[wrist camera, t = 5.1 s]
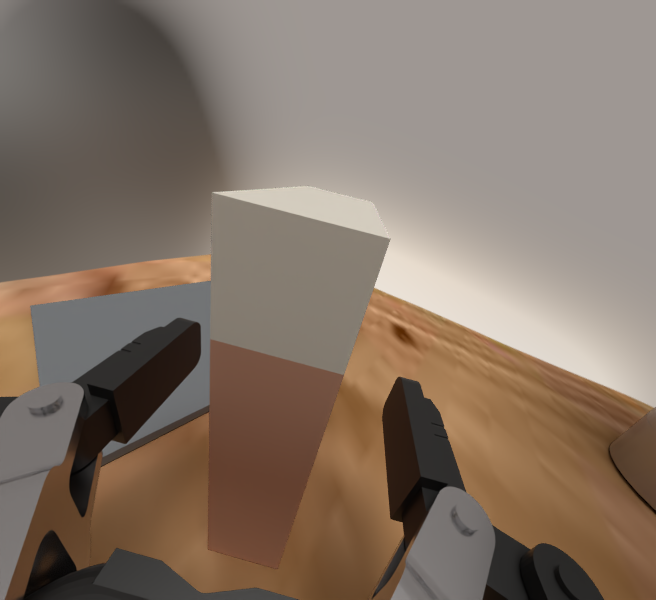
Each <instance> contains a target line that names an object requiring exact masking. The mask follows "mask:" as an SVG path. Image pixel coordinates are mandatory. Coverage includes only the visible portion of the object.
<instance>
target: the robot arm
mask: <svg viewBox="0 0 656 600" xmlns="http://www.w3.org/2000/svg"><path fill="white" fill-rule="evenodd" d="M200 356H201V325H200V323H198V322H195V321H191V320H188V319H184V318H176V319H175V320H173V321H172V322H170V323H169V324H168V325H166V326H165V327H161V326H160V327H157V328H155V329H152V330H149V331H147V332H144V333H143V334H141V335H140V336H138V337H137V338H136V339H134V340H133V341H132V342H131V343H128V344H127V345H125V346H124V347H123V348H121V350H120V351H119V350H118V351H117V352H115V353H114V354H112V355H111V356H109V357H108V358H107V359H105V360H104V361H102V362H101V363H99V364H98V365H96V366H95V367H94V368H92V369H91V370H89V371H88V372H86V373H85V374H83V375H82V376H80V377H79V378H78V379H76V380H75V381H73V382H59V383H52V384H47V385H44V386H41V387H38V388H35V389H33V390H31V391H28V392H26V393H25V394H23V395H21V396H20V397H0V600H298V599H295V598H291V597H288V596H284V595H281V594H277V593H274V592H270V591H266V590H263V589H259V588H250V589H241V590H232V591H224V592H215V593H201V592H199V591H197V590H196V589H195V588H194V587H192V586H191V585H190V584H189V583H188V582H186V581H185V580H184V579H183V578H182V577H180V576H179V575H178V574H177V573H176V572H174V571H173V570H172V569H171V568H170V567H169V566H167V565H166V564H165V563H164V562H163V561H161V560H157V559H154V558H150V557H147V556H143V555H139V554H136V553H132V552H129V551H125V550H122V549H118V548H116V549H115V551H114V552H113V554H112V555H111V557H110V558H109V560H108V561H107V563H102V564H98V565H94V566H90V567H89V564H90V556H91V533H90V526H91V517H92V511H93V506H94V501H95V495H96V490H97V484H98V479H99V473H100V468H101V462H102V457H103V451H102V450H103V449H104V448H105V447H106V446H107V444H108V443H109V442H110V441H111V440H112V441H116V442H119V443H123V444H127V443H128V441H129V440H130V439H131V438H132V437H133V436H134V435H135V434H136V433H137V431H138V430H139V429H140V428H141V427H142V426H143V425H144V424H145V423H146V421H147V420H148V419H149V418H150V417H151V416H152V415H153V414H154V413H155V412H156V410H157V409H158V408H159V407H160V406H161V405H162V404H163V403H164V402H165V400H166V399H167V398H168V397H169V396H170V395H171V394H172V393H173V392H174V390H175V389H176V388H177V387H178V386H179V385H180V384H181V383H182V382H183V381H184V379H185V378H186V377H187V376H188V375H189V374H190V373H191V372H192V371H193V369H194V368H195V367H196V366H197V364H198V362H199V360H200ZM382 421H383V433H384V445H385V458H386V470H387V482H388V495H389V507H390V519H392V520H396V521H399V522H403V529H404V536H403V537H402V539H401V540H400V542H399V544H398V546H397V548H396V549H395V551H394V553H393V555H392V557H391V559H390V560H389V562H388V564H387V566H386V568H385V569H384V571H383V573H382V575H381V577H380V579H379V580H378V582H377V584H376V586H375V588H374V589H373V591H372V593H371V595H370V597H369V598H368V600H604V599H603V597H602V595H601V594H600V592H599V590H598V589H597V587H596V586H595V584H594V583H593V581H592V580H591V579H590V578H589V576H588V575H587V574H586V573H585V571H584V570H583V569H582V568H581V567H580V566H579V565H578V564H577V563H576V562H575V561H574V560H573V559H572V558H571V557H569V556H568V555H567V554H566V553H564V552H563V551H562V550H560V549H558V548H557V547H555V546H552V545H550V544H546V543H541V544H538V545H537V546H535V547H534V548H532V549H531V550H530V549H529V548H527V547H526V546H524V545H522V544H521V543H519V542H518V541H516V540H514V539H513V538H511V537H510V536H508V535H507V534H505V533H503V532H502V531H500V530H499V529H497V528H496V527H494V526H493V525H492V524H491V522H490V520H489V518H488V516H487V514H486V513H485V511H484V510H483V508H482V507H481V506H480V505H479V503H478V502H477V501H476V500H475V499H474V498H473V497H472V496H470V495H469V494H468V493H467V492H466V490H465V487H464V484H463V481H462V478H461V475H460V472H459V469H458V466H457V463H456V460H455V457H454V454H453V451H452V448H451V445H450V442H449V441H448V436H447V433H446V430H445V429H444V424H443V421H442V418H441V415H440V412H439V411H438V409H437V408H436V407H435V405H434V404H433V402H432V401H431V399H427V398H424V396H423V392H422V389H421V385H420V383H419V382H417V381H413V380H410V379H406V378H402V377H398V378H397V379H396V381H395V383H394V385H393V388H392V390H391V392H390V394H389V396H388V398H387V400H386V402H385V405H384V408H383V416H382ZM610 453H611V457H612V459H613V461H614V462H615V464H616V466H617V468H618V469H619V470H620V472H621V473H622V475H623V476H624V477H625V479H626V480H627V481H628V482H629V483H630V484H631V486H632V487H633V488H634V489H635V490H636V491H637V492H638V494H639V495H641V496H642V497H643V498H644V499H645V500H646V501H647V502H648V503H649V504H650V505H651V506H652V507H653V508H654V509H655V510H656V407H655V408H654V409H653V410H651V411H650V412H649V413H647V414H646V415H645V416H644V417H642V418H641V419H640V420H639V421H638V422H636V423H635V424H634V425H633V426H632V427H630V428H629V429H628V430H627V431H626V432H624V433H623V434H622V435H621V436H619V437H618V438H617V439H616V440H615V441H613V442H612V443H611V446H610Z"/></svg>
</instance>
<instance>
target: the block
mask: <svg viewBox="0 0 656 600" xmlns="http://www.w3.org/2000/svg"><path fill="white" fill-rule="evenodd" d="M211 225H212V226H211V231H212V232H211V314H210V405H209V496H208V550H211V551H215V552H218V553H222V554H225V555H229V556H232V557H236V558H239V559H243V560H247V561H250V562H254V563H257V564H261V565H264V566H268V567H271V568H275V569H278V566H279V563H280V560H281V557H282V554H283V551H284V548H285V545H286V543H287V540H288V537H289V534H290V531H291V528H292V525H293V522H294V519H295V516H296V513H297V510H298V507H299V505H300V502H301V499H302V496H303V493H304V490H305V487H306V484H307V481H308V478H309V475H310V472H311V469H312V467H313V464H314V461H315V458H316V455H317V452H318V449H319V446H320V443H321V440H322V437H323V434H324V432H325V429H326V426H327V423H328V420H329V417H330V414H331V411H332V408H333V405H334V402H335V399H336V396H337V394H338V391H339V388H340V385H341V382H342V379H343V376H344V373H345V370H346V367H347V364H348V361H349V359H350V356H351V353H352V350H353V347H354V344H355V341H356V338H357V335H358V332H359V329H360V326H361V323H362V321H363V318H364V315H365V312H366V309H367V306H368V303H369V300H370V297H371V294H372V291H373V288H374V286H375V282H376V280H377V277H378V274H379V271H380V268H381V265H382V262H383V259H384V256H385V253H386V250H387V248H388V245H389V242H390V237H389V235H388V233H387V230H386V228H385V226H384V224H383V222H382V220H381V218H380V216H379V214H378V212H377V210H376V207H375V206H374V203H373V202H369V201H366V200H361V199H358V198H354V197H350V196H346V195H342V194H339V193H335V192H330V191H327V190H323V189H319V188H315V187H311V186H300V187H286V188H271V189H257V190H241V191H227V192H213V193H212V224H211Z"/></svg>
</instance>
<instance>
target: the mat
mask: <svg viewBox="0 0 656 600" xmlns="http://www.w3.org/2000/svg"><path fill="white" fill-rule="evenodd" d="M30 307H31V316H32V324H33V332H34V341H35V349H36V358H37V366H38V375H39V383H40V387H41V386H44V385H47V384H52V383H59V382H73V381H75V380H76V379H78V378H79V377H80V376H82V375H83V374H85V373H86V372H88V371H89V370H91V369H92V368H94V367H95V366H96V365H98V364H99V363H101V362H102V361H104V360H105V359H107V358H108V357H109V356H111V355H112V354H114V353H115V352H117V351H118V350H119V351H120V350H121V348H123V347H124V346H125V345H127V344H128V343H131V342H132V341H133V340H134V339H136V338H137V337H138V336H140V335H141V334H143V333H144V332H147V331H149V330H152V329H155V328H157V327H160V326H161V327H165V326H166V325H168V324H169V323H170V322H172V321H173V320H175V319H176V318H184V319H188V320H191V321H195V322H198V323H200V325H201V356H200V360H199V362H198V364H197V366H196V367H195V368H194V369H193V371H192V372H191V373H190V374H189V375H188V376H187V377H186V378H185V379H184V381H183V382H182V383H181V384H180V385H179V386H178V387H177V388H176V389H175V390H174V392H173V393H172V394H171V395H170V396H169V397H168V398H167V399H166V400H165V402H164V403H163V404H162V405H161V406H160V407H159V408H158V409H157V410H156V412H155V413H154V414H153V415H152V416H151V417H150V418H149V419H148V420H147V421H146V423H145V424H144V425H143V426H142V427H141V428H140V429H139V430H138V431H137V433H136V434H135V435H134V436H133V437H132V438H131V439H130V440H129V441H128V443H127V444H123V443H119V442H116V441H112V440H111V441H110V442H109V443H108V444H107V446H106V447H105V448H104V449H103V450H102V451H103V457H102V462H101V466H103V465H105V464H107V463H109V462H111V461H113V460H115V459H117V458H119V457H120V456H122V455H124V454H126V453H128V452H130V451H132V450H134V449H136V448H138V447H140V446H142V445H144V444H146V443H148V442H150V441H152V440H154V439H156V438H158V437H160V436H162V435H164V434H166V433H168V432H170V431H171V430H173V429H175V428H177V427H179V426H181V425H183V424H185V423H187V422H189V421H191V420H193V419H195V418H197V417H199V416H201V415H203V414H205V413H207V412H209V405H210V314H211V281H206V282H199V283H191V284H184V285H177V286H170V287H163V288H155V289H148V290H141V291H134V292H126V293H119V294H112V295H105V296H98V297H90V298H83V299H76V300H69V301H61V302H54V303H47V304H40V305H33V306H30Z"/></svg>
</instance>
